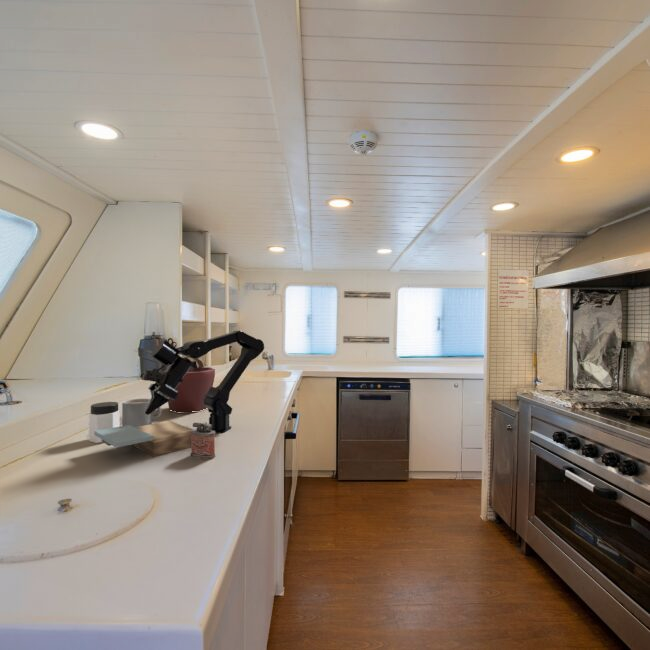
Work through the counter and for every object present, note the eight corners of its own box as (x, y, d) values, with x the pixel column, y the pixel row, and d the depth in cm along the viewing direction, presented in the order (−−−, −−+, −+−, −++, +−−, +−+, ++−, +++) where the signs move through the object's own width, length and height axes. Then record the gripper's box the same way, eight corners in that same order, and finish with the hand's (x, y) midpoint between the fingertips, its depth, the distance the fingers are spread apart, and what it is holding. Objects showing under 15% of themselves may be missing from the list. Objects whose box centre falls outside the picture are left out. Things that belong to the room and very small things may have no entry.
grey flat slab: (129, 425, 116) (94, 430, 109) (153, 435, 104) (116, 443, 97) (128, 431, 116) (94, 437, 109) (153, 442, 104) (115, 450, 97)
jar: (88, 444, 115) (88, 408, 116) (89, 438, 122) (89, 403, 122) (120, 439, 120) (120, 404, 120) (118, 433, 127) (118, 400, 127)
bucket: (188, 417, 151) (188, 358, 151) (149, 413, 159) (149, 357, 159) (224, 405, 173) (223, 354, 174) (188, 402, 181) (188, 353, 182)
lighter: (217, 456, 105) (217, 422, 105) (210, 460, 102) (210, 425, 102) (195, 452, 108) (195, 420, 108) (187, 456, 104) (187, 423, 105)
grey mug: (119, 431, 130) (119, 404, 130) (125, 424, 139) (125, 399, 139) (159, 428, 134) (159, 402, 134) (162, 421, 144) (162, 397, 144)
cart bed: (168, 434, 126) (168, 420, 126) (194, 445, 115) (194, 429, 115) (129, 443, 116) (130, 428, 116) (154, 456, 105) (154, 439, 105)
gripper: (150, 360, 125) (120, 399, 118) (161, 358, 110) (127, 403, 103) (177, 377, 129) (149, 416, 123) (191, 377, 114) (160, 421, 108)
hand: (146, 414), depth 114 cm, fingers closed
